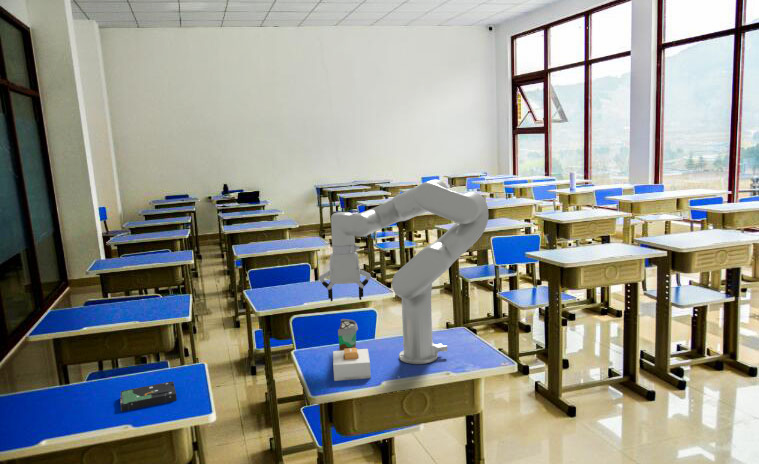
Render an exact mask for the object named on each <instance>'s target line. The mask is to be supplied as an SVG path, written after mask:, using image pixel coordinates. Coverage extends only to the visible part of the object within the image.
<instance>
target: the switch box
mask: <svg viewBox="0 0 759 464" xmlns="http://www.w3.org/2000/svg"><path fill="white" fill-rule="evenodd" d="M357 354H358V359H347V360H345V356H344V350H342V351H340V350H335V351H334V350H333V351H332V359H333V360H332V362H333V364H332V365H333V380H334V382H337V381H338V382H339V381H350V380H351V381H352V380H363V379H371V377H372V374H371V361H370V353H369V349H368V348H360V349H359V348H357Z"/></svg>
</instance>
